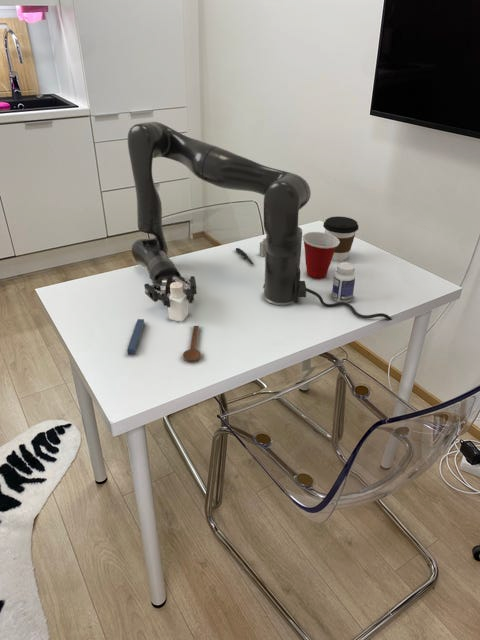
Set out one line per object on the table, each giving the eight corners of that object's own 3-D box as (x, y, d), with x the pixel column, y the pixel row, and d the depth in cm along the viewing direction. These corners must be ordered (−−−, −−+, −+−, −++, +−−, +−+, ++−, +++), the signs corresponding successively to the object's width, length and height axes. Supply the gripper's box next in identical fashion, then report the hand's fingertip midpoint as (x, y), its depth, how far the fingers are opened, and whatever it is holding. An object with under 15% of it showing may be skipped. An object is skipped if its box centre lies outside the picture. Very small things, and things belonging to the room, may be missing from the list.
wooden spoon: (204, 328, 122) (204, 325, 122) (200, 362, 110) (199, 359, 110) (188, 328, 122) (188, 325, 122) (182, 362, 110) (182, 359, 110)
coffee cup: (357, 264, 154) (362, 228, 148) (322, 264, 154) (326, 228, 148) (350, 250, 163) (355, 216, 157) (318, 250, 163) (321, 215, 157)
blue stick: (144, 324, 123) (144, 319, 123) (134, 354, 112) (134, 349, 112) (138, 324, 123) (137, 319, 123) (127, 354, 112) (127, 349, 112)
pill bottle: (354, 295, 137) (359, 263, 132) (349, 305, 132) (354, 272, 127) (334, 291, 139) (338, 259, 134) (328, 300, 134) (332, 267, 129)
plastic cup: (334, 285, 142) (339, 247, 136) (297, 281, 144) (300, 243, 138) (336, 269, 151) (340, 232, 145) (301, 265, 153) (304, 229, 147)
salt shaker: (168, 319, 125) (165, 287, 120) (175, 312, 129) (172, 280, 124) (182, 322, 124) (180, 289, 119) (189, 315, 127) (187, 282, 122)
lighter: (262, 256, 159) (263, 233, 154) (259, 254, 160) (259, 231, 155) (278, 250, 163) (279, 227, 158) (274, 248, 164) (275, 226, 159)
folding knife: (254, 267, 152) (254, 261, 151) (251, 267, 152) (251, 261, 151) (237, 251, 162) (237, 245, 161) (234, 251, 162) (234, 246, 161)
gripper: (135, 264, 130) (150, 293, 117) (187, 256, 135) (207, 283, 121) (138, 289, 134) (152, 320, 121) (189, 281, 139) (208, 309, 125)
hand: (180, 301), depth 121 cm, fingers closed on salt shaker, 5 cm apart
